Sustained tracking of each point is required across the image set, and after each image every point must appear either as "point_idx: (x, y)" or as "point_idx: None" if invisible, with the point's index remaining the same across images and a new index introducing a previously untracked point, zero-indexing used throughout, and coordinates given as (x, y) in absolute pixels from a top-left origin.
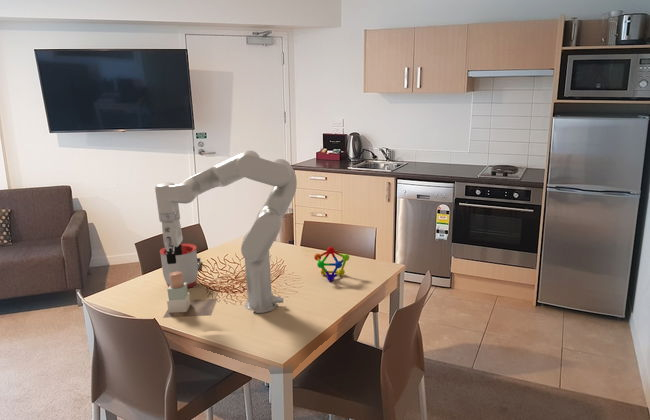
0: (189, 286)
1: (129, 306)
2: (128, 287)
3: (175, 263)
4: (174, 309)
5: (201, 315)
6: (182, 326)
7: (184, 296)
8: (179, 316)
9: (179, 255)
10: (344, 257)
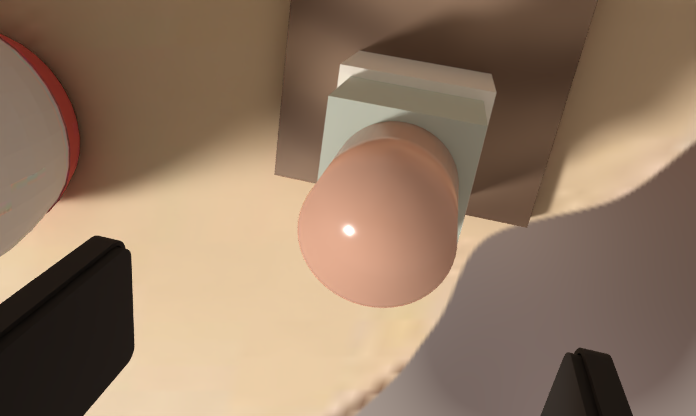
0: (46, 70)
1: (268, 385)
2: None
3: (601, 356)
4: None
5: None
6: (684, 94)
7: (471, 103)
8: (555, 122)
9: None
10: None
